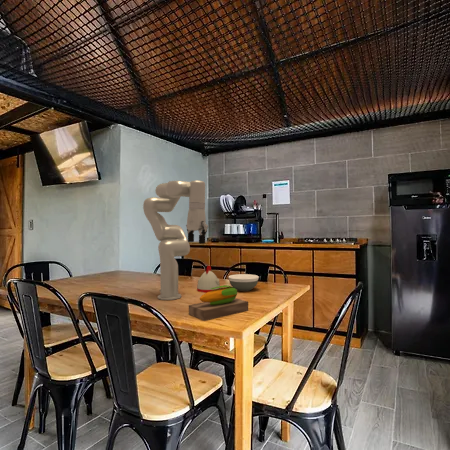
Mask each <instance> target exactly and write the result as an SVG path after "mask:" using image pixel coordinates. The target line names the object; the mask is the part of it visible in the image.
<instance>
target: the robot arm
mask: <svg viewBox="0 0 450 450" xmlns="http://www.w3.org/2000/svg"><path fill="white" fill-rule="evenodd" d="M155 187H156V188H155V194H156V196H157V197H156V196H155V197H153V196H151V197H147V198H146V199H145V200H144V201H143V205H142V206H143V207H142V209H143V213H144V216H145V217H146V219H147V221H148V222H149V224H150V226H151V229H152V230H153V234H154V237H155V238H156V240H158V242H159V243H158V249H157V250H158V253H159V254H158V255H159V264H160V265H159V267H160V269H159V270H160V271H159V272H160V274H159V275H160V280H159V281H160V288H159V292H160V294H159V295H157V299H158V300H162V301H172V300H173V301H174V300H177V299H180V298H182V294H181V293H179V264H178V261H177V259H176V257H185V256H187V255H188V254H190V251H191V246H190V243H193V242H195V234H194V232H196V231H198V233H199V235H198V244H206V236H207V232H208V228H209V225H208V224H207V223H206V183H205V181H202V180H191V181H185V180H171V181H170V180H169V181H168V182H163V183H160V184H158V185H157V186H155ZM181 197H183V198H188V211H187V218H186V225H185V226H186V231H187V236H186V233H185V232H184V229H183V228H182V227H181V226H180V225H178V224H168V223H167V221H166V219H165V217H164V216H163V215H162V214H160V213H170V212H173V210H174V209H175V207H177V206H176V205H177V204H178V202H179V201H180V198H181Z"/></svg>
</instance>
